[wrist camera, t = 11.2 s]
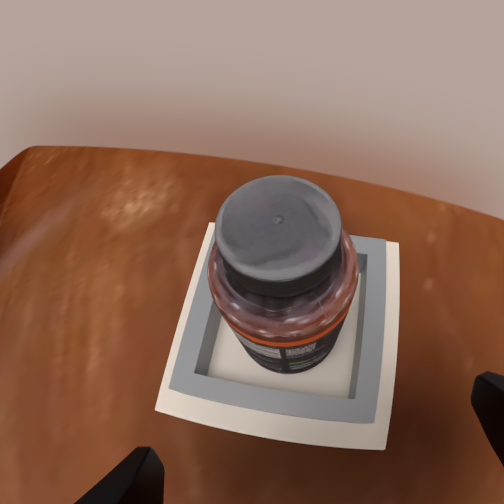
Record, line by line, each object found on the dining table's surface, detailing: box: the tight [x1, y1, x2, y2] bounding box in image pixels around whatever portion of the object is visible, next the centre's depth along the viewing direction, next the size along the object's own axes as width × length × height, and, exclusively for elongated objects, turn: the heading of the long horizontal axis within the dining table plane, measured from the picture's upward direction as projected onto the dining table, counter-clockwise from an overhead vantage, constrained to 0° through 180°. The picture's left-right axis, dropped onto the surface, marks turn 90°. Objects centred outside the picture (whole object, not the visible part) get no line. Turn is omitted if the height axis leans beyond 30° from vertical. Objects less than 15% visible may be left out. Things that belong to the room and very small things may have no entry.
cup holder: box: [155, 223, 399, 450], centre depth 19 cm, size 14×14×4 cm
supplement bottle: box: [207, 175, 359, 374], centre depth 15 cm, size 6×6×11 cm
